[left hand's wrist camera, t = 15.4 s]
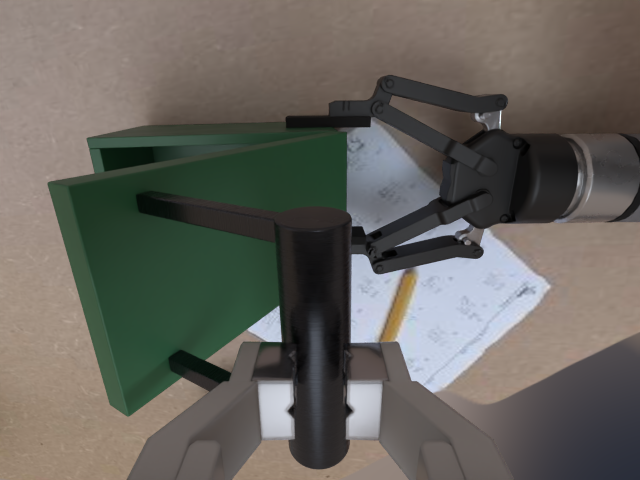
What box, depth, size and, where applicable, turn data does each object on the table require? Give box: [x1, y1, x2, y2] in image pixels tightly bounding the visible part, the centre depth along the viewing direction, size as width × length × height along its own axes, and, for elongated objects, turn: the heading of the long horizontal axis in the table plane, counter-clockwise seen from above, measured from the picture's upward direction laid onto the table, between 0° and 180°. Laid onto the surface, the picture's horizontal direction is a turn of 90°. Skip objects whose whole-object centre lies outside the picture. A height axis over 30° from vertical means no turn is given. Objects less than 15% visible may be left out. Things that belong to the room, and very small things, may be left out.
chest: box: [87, 122, 338, 173], centre depth 32 cm, size 17×9×11 cm, turn 91°
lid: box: [48, 131, 352, 469], centre depth 18 cm, size 18×9×9 cm
